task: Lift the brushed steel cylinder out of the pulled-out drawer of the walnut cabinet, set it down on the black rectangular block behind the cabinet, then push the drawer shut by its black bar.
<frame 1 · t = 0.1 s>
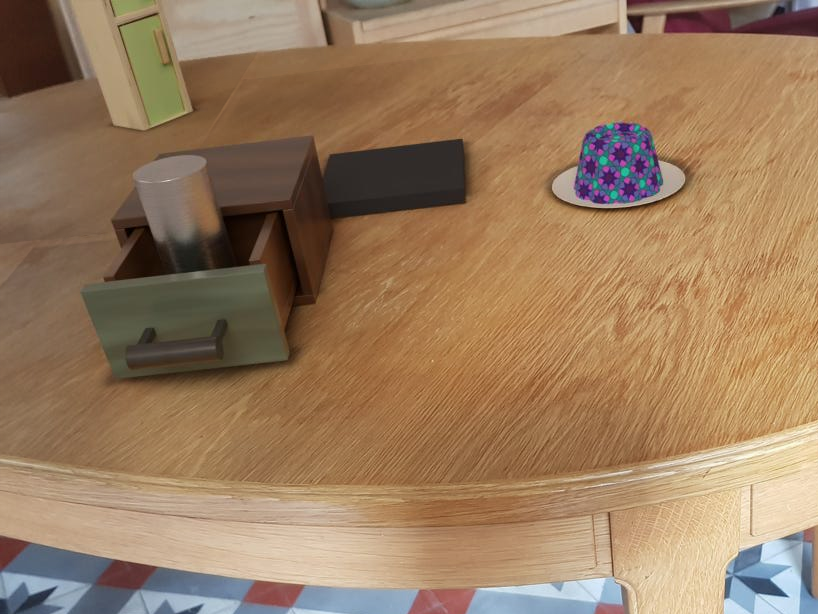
black rectangular block: (395, 184, 94), on the table
cabinet: (246, 272, 81), on the table
drawer: (200, 296, 68), point 4 cm above the table, slide at 9.0 cm, touching brushed steel cylinder
toy refrigerator: (157, 126, 120), on the table
pudding: (618, 191, 87), on the table
brushed steel cylinder: (214, 312, 71), point 2 cm above the table, touching drawer
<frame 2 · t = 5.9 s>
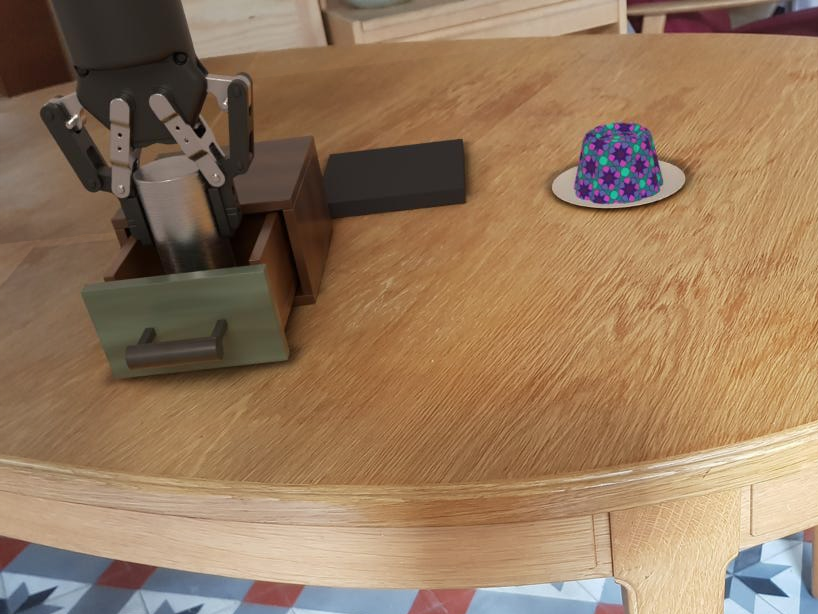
hand: (190, 237, 67), 8 cm above the table, tool pointing down, fingers closed on brushed steel cylinder, 5 cm apart
brushed steel cylinder: (214, 312, 71), point 2 cm above the table, touching drawer, gripper
everything else where it was.
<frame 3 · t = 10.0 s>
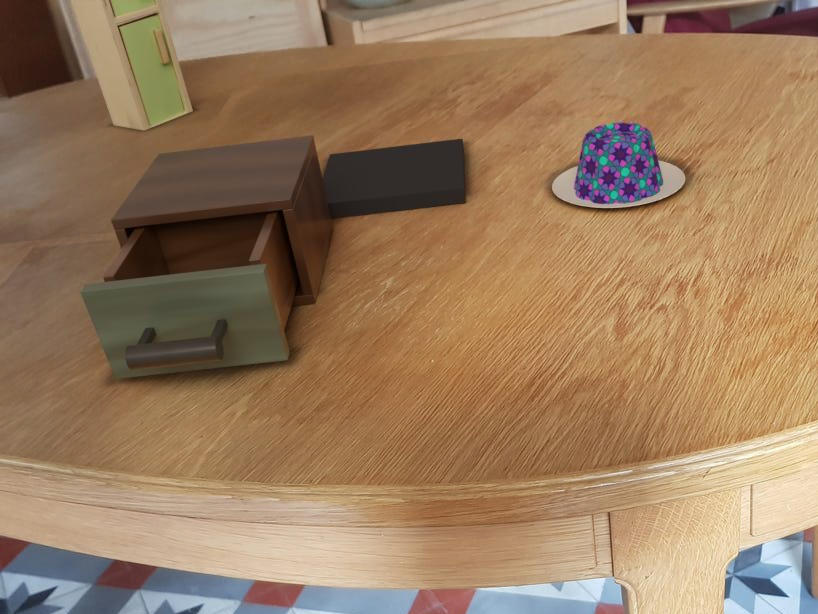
drawer: (200, 296, 68), point 4 cm above the table, slide at 9.0 cm
when the fingers open (8 cm above the table, at t = 14.5 s): brushed steel cylinder stays where it is, resting on black rectangular block.
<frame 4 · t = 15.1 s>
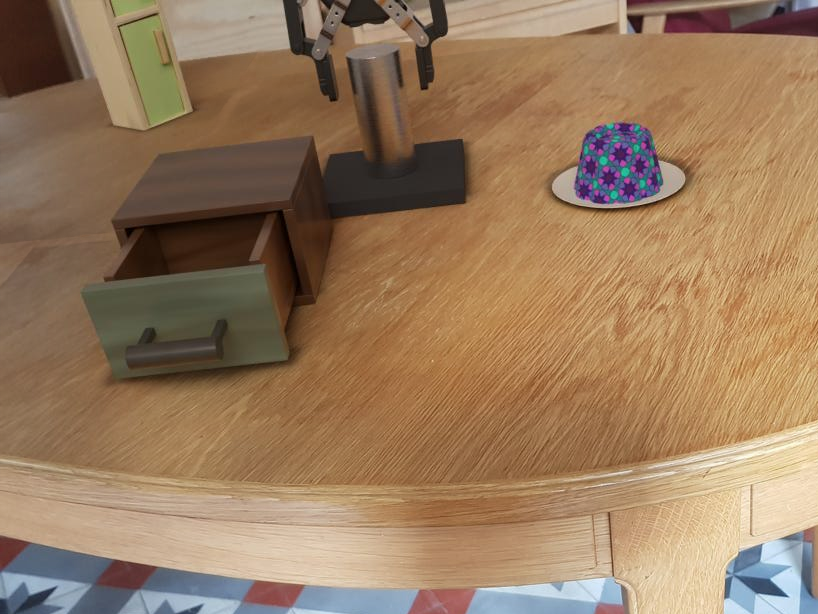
hand: (379, 93, 89), 9 cm above the table, tool pointing down, fingers open, 8 cm apart
brushed steel cylinder: (392, 169, 93), point 1 cm above the table, touching black rectangular block
everything else where it was.
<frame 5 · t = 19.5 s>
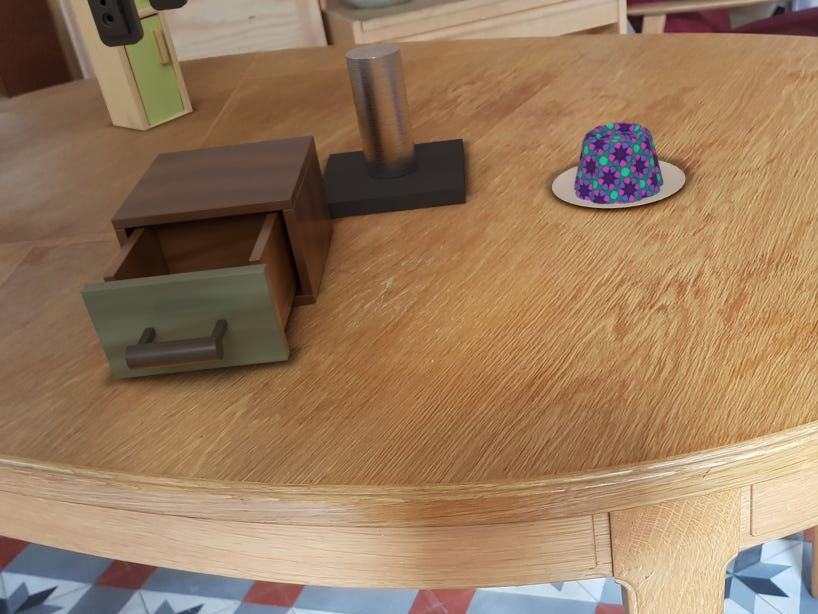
hand: (149, 25, 54), 23 cm above the table, tool pointing down, fingers open, 8 cm apart
nothing on the table moved.
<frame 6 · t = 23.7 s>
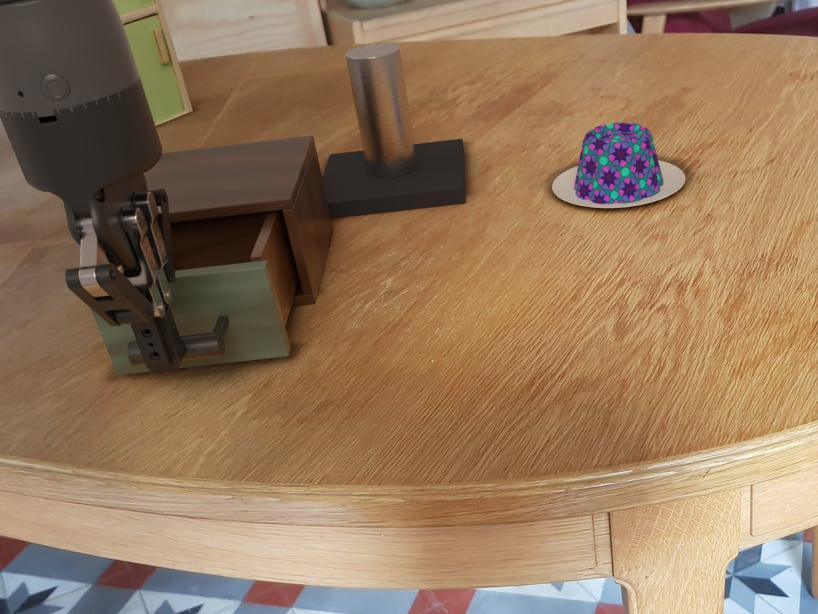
hand: (167, 364, 61), 4 cm above the table, tool pointing down, fingers closed
drawer: (202, 293, 69), point 4 cm above the table, slide at 8.5 cm, touching gripper
everything else where it was.
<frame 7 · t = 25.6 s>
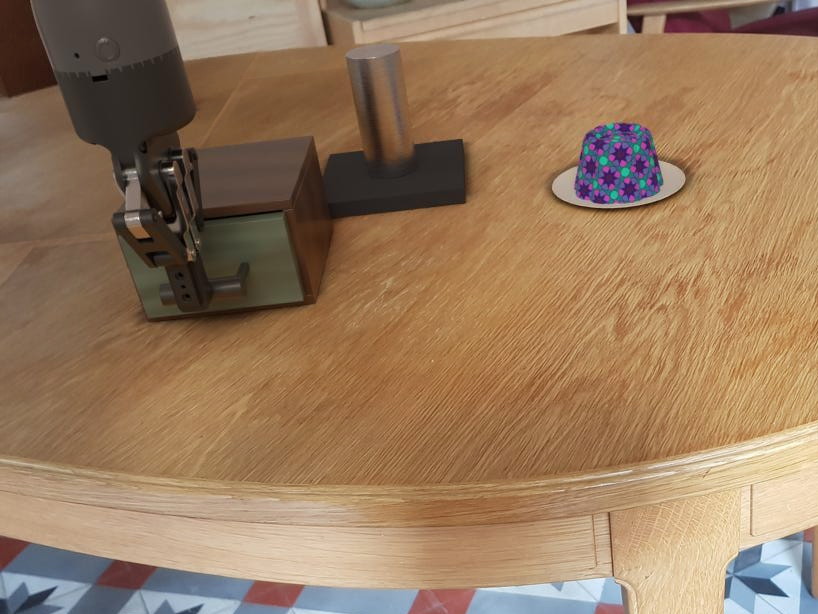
hand: (197, 306, 67), 4 cm above the table, tool pointing down, fingers closed
drawer: (224, 244, 75), point 4 cm above the table, slide at 0.0 cm, touching cabinet, gripper
everything else where it was.
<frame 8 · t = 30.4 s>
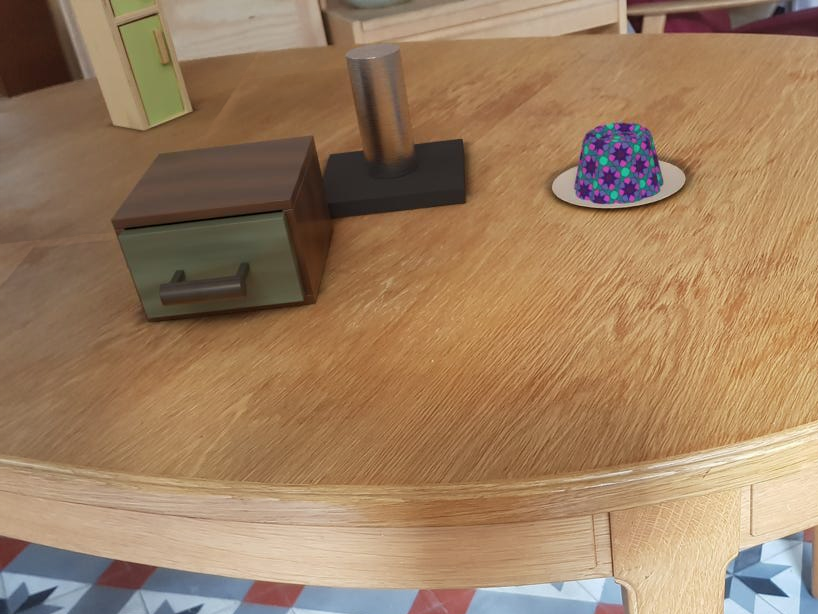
drawer: (224, 244, 75), point 4 cm above the table, slide at 0.0 cm, touching cabinet
everything else where it was.
at the end: brushed steel cylinder inside the target area on the black rectangular block (0.0 cm from its centre), point 1.5 cm above the black rectangular block's base; brushed steel cylinder tilted 0°; drawer slide at 0.0 cm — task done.
